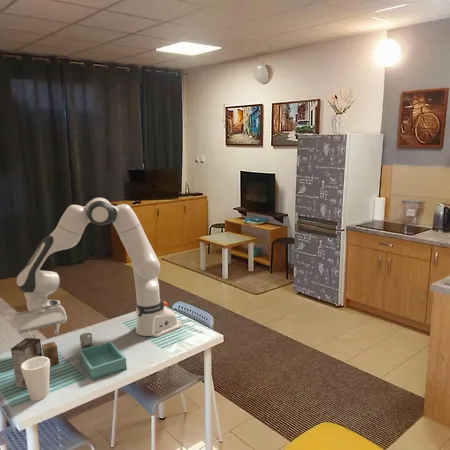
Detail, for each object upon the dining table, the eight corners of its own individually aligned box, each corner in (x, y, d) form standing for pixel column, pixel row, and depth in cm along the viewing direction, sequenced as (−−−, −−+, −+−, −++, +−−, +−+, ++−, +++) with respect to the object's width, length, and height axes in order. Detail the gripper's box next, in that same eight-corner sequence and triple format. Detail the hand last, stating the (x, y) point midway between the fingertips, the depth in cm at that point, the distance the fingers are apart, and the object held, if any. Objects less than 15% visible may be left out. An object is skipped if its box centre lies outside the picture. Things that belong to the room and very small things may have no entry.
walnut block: (56, 358, 179) (54, 341, 177) (59, 363, 175) (56, 346, 173) (43, 362, 176) (41, 344, 175) (46, 367, 172) (44, 349, 171)
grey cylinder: (91, 348, 187) (89, 331, 185) (94, 352, 183) (93, 335, 181) (80, 351, 184) (78, 334, 183) (83, 356, 180) (81, 339, 179)
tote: (112, 351, 184) (111, 341, 183) (126, 369, 169) (125, 358, 168) (79, 361, 176) (78, 350, 175) (91, 380, 161) (90, 369, 160)
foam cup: (51, 400, 150) (47, 367, 147) (23, 405, 147) (18, 372, 145) (54, 385, 159) (50, 354, 156) (27, 390, 156) (23, 358, 154)
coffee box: (31, 374, 167) (26, 337, 164) (45, 375, 166) (40, 338, 163) (15, 387, 159) (10, 348, 155) (30, 388, 157) (25, 349, 154)
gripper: (12, 310, 177) (19, 340, 171) (63, 299, 188) (70, 327, 182) (12, 316, 182) (18, 346, 176) (62, 305, 193) (69, 333, 186)
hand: (45, 336), depth 179 cm, fingers open, 8 cm apart
